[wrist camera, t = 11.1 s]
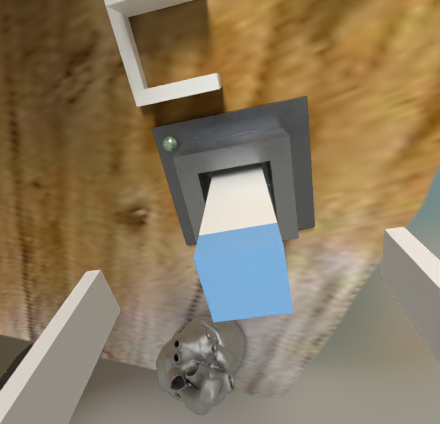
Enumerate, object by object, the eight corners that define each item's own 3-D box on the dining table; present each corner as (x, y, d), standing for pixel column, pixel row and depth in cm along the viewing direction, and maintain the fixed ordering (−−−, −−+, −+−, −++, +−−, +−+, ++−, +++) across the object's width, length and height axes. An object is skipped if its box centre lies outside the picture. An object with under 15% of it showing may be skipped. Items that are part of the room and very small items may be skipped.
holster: (110, 4, 21) (84, -10, 17) (203, -21, 20) (196, -42, 16) (141, 104, 24) (124, 109, 20) (222, 86, 23) (219, 89, 19)
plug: (214, 166, 25) (193, 258, 12) (258, 157, 24) (283, 245, 12) (223, 205, 27) (213, 322, 14) (265, 198, 26) (292, 312, 14)
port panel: (153, 127, 24) (135, 139, 20) (305, 96, 23) (322, 101, 18) (187, 242, 29) (178, 272, 25) (313, 223, 28) (328, 252, 23)
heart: (145, 322, 35) (127, 441, 25) (186, 275, 31) (185, 393, 21) (211, 344, 38) (219, 455, 28) (255, 305, 35) (282, 416, 25)
